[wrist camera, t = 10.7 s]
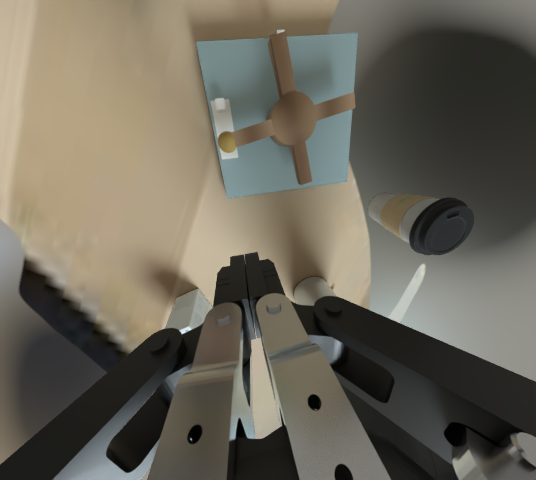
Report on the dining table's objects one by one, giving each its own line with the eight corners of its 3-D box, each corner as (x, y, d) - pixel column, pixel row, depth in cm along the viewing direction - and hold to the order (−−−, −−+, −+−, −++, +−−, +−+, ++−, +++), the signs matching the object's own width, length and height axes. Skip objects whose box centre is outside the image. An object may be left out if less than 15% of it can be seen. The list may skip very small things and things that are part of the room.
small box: (176, 297, 43) (159, 338, 33) (198, 287, 42) (188, 325, 33) (195, 319, 46) (185, 362, 37) (215, 310, 46) (211, 350, 37)
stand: (338, 179, 37) (353, 183, 33) (227, 195, 35) (226, 201, 31) (346, 38, 28) (367, 17, 24) (198, 47, 26) (190, 25, 22)
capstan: (330, 33, 25) (351, 8, 21) (343, 163, 33) (360, 165, 28) (195, 77, 25) (186, 60, 20) (239, 198, 32) (240, 206, 28)
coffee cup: (388, 174, 39) (471, 186, 25) (405, 206, 42) (485, 231, 29) (352, 206, 40) (411, 233, 27) (371, 234, 44) (431, 269, 31)
